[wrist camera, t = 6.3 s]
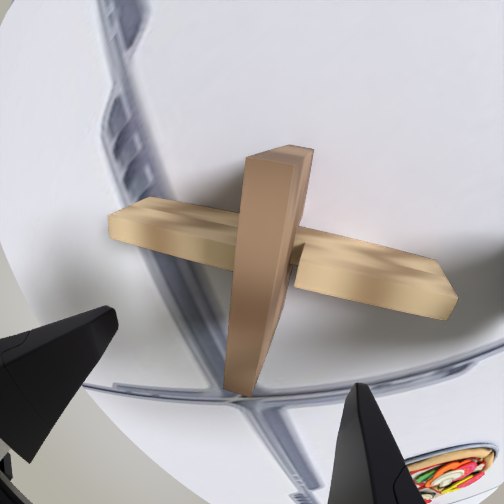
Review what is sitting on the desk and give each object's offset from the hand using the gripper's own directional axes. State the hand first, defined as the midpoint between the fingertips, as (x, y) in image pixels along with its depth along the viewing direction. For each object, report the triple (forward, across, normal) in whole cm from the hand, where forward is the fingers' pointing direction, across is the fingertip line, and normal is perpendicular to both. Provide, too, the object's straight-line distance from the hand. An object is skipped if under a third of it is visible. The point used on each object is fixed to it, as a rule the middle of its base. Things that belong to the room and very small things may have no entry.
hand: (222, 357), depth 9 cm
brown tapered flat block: (+12, 0, 0) cm, 12 cm away
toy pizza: (+12, -35, +38) cm, 53 cm away
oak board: (+12, 0, 0) cm, 12 cm away
